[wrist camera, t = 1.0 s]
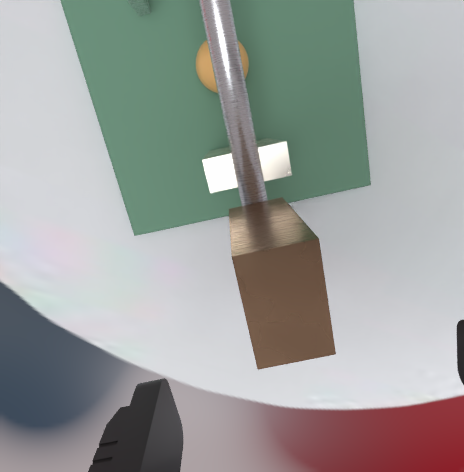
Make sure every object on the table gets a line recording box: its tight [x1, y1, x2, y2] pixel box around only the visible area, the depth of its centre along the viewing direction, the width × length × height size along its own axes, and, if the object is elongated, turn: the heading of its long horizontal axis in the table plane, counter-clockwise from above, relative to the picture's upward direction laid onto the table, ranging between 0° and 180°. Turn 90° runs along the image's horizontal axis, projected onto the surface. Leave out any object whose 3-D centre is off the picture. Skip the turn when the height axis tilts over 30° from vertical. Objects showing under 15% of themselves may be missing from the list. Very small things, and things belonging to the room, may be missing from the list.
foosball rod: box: [199, 0, 336, 369], centre depth 18 cm, size 5×31×18 cm, turn 12°
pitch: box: [61, 0, 371, 236], centre depth 28 cm, size 22×24×1 cm
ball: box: [196, 40, 249, 93], centre depth 26 cm, size 4×4×4 cm
